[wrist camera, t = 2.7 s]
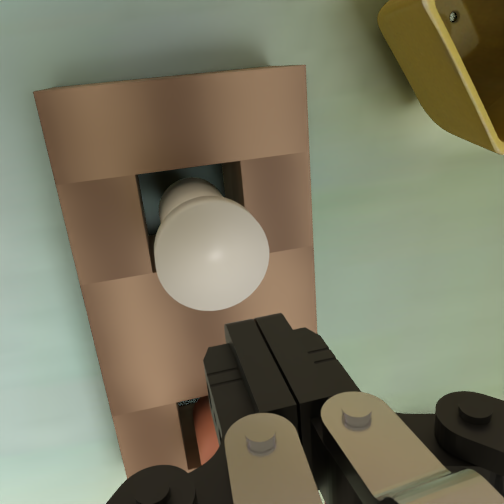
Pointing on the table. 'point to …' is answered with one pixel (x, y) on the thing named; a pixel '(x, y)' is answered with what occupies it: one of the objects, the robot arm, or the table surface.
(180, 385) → the block
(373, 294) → the table surface
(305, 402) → the robot arm
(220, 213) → the grey plug
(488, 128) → the flower pot
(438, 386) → the table surface
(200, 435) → the red plug
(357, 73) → the table surface
